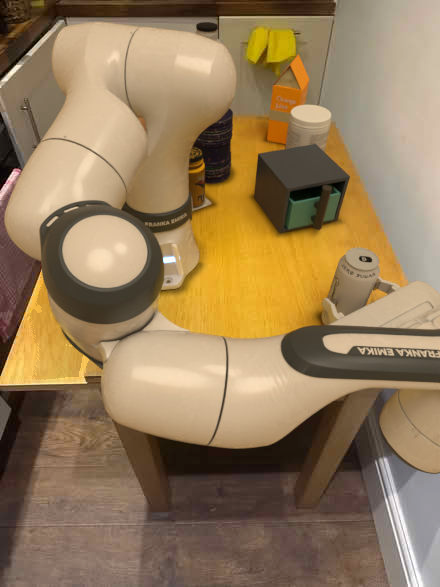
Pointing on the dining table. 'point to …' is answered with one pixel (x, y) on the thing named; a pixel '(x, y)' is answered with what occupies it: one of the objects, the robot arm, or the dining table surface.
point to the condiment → (197, 179)
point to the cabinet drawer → (312, 206)
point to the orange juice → (286, 99)
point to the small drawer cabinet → (294, 179)
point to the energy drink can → (353, 281)
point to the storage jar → (217, 149)
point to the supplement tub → (308, 126)
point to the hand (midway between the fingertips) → (348, 288)
